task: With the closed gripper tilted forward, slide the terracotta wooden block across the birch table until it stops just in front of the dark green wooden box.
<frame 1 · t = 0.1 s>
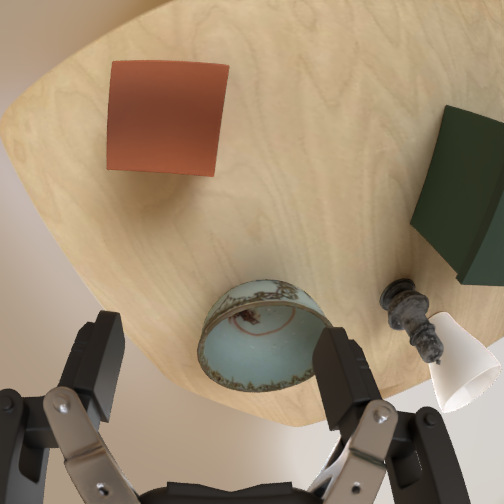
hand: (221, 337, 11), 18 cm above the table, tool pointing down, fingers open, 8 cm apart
block: (180, 105, 23), on the table
box: (469, 180, 28), on the table
cup: (433, 324, 41), on the table
dark grey chess piece: (397, 294, 36), on the table
bowl: (259, 301, 35), on the table
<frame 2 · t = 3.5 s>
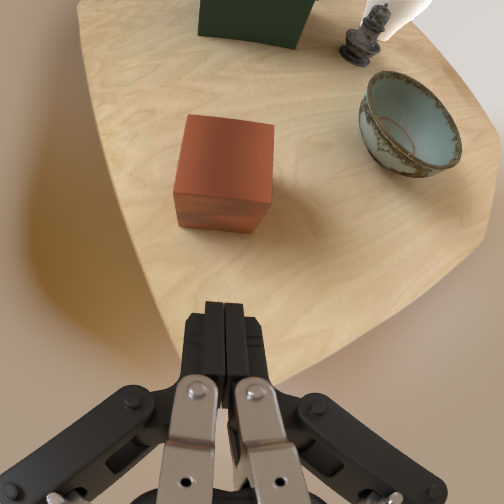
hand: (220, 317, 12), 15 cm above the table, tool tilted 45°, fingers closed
block: (218, 196, 30), on the table
box: (249, 17, 37), on the table
cup: (373, 32, 42), on the table
dark grey chess piece: (354, 56, 39), on the table
bowl: (384, 149, 35), on the table
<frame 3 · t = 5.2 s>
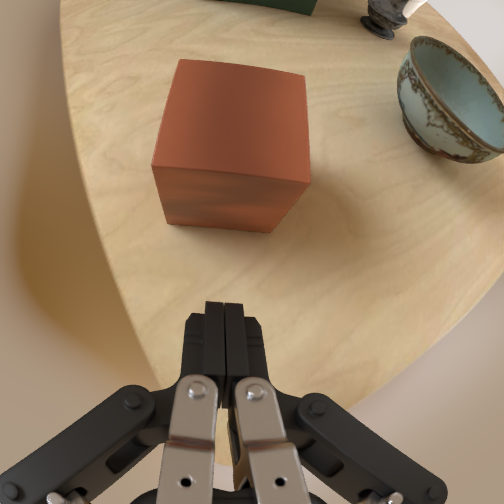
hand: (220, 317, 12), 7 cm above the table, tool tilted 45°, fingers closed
block: (223, 181, 21), on the table
cup: (392, 8, 34), on the table
dark grey chess piece: (376, 28, 31), on the table
bowl: (423, 130, 27), on the table
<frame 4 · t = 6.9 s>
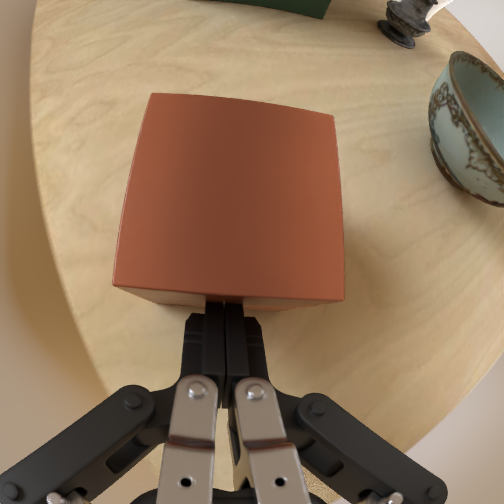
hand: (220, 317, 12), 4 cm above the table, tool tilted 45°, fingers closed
block: (220, 244, 17), on the table, touching gripper
cup: (409, 11, 30), on the table
dark grey chess piece: (395, 35, 26), on the table
bowl: (452, 161, 23), on the table
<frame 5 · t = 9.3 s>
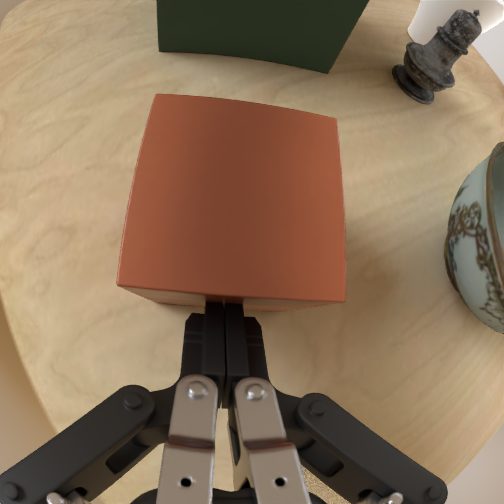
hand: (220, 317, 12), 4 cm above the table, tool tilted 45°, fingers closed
block: (221, 244, 17), on the table, touching gripper
box: (249, 16, 22), on the table
cup: (425, 44, 28), on the table
dark grey chess piece: (412, 84, 24), on the table
bowl: (465, 260, 21), on the table
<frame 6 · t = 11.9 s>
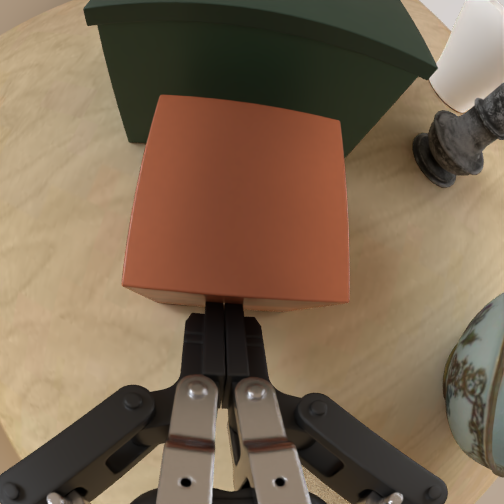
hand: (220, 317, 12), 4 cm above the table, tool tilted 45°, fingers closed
block: (224, 245, 17), on the table, touching gripper
box: (242, 75, 20), on the table
cup: (447, 92, 26), on the table
dark grey chess piece: (434, 160, 22), on the table
bowl: (464, 373, 19), on the table
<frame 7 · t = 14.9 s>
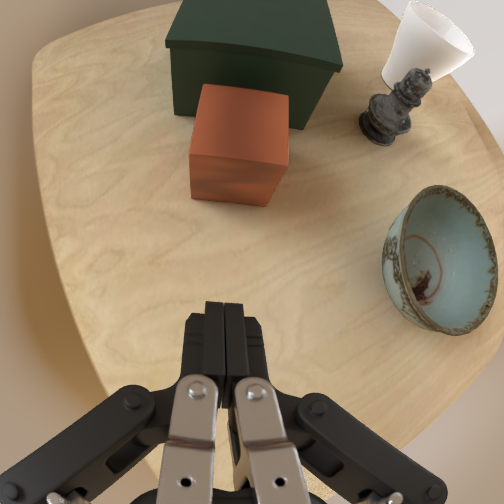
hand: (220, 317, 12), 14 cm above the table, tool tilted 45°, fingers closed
block: (232, 169, 29), on the table
box: (243, 77, 32), on the table
cup: (397, 83, 37), on the table
dark grey chess piece: (376, 129, 34), on the table
bowl: (407, 273, 30), on the table
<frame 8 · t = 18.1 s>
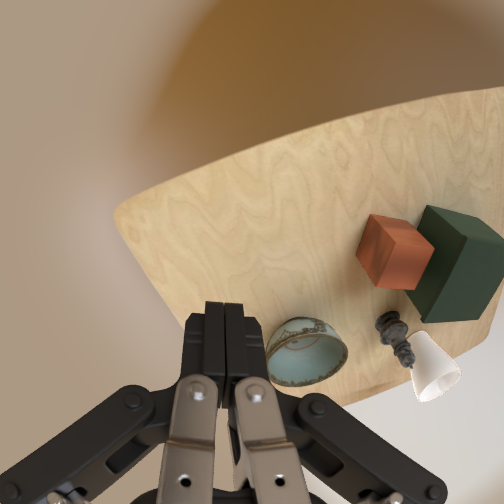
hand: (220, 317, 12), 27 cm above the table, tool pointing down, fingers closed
block: (382, 238, 43), on the table
box: (440, 247, 46), on the table
cup: (414, 339, 59), on the table
dark grey chess piece: (387, 320, 54), on the table
bowl: (297, 328, 52), on the table
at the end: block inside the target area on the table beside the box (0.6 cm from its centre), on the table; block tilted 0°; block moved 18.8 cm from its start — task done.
